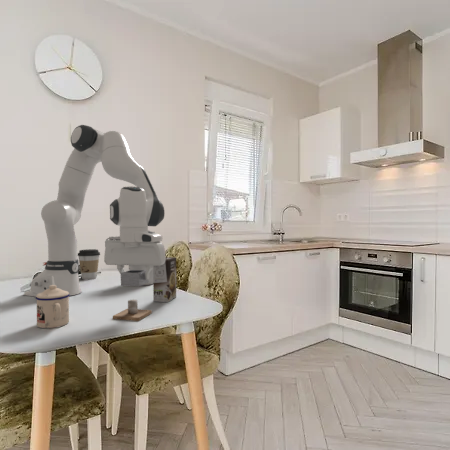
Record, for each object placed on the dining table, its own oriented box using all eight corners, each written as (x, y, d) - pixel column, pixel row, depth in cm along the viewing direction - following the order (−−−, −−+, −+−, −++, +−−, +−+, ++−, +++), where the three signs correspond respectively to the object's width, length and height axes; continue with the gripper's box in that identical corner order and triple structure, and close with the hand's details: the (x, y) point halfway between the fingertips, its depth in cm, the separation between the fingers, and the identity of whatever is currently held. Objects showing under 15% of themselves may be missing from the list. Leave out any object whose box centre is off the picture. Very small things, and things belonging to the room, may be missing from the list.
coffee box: (168, 302, 130) (168, 259, 129) (152, 301, 131) (152, 259, 131) (177, 297, 139) (176, 257, 138) (161, 296, 140) (161, 256, 140)
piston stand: (112, 319, 108) (112, 303, 108) (127, 311, 117) (127, 296, 117) (139, 320, 106) (138, 304, 106) (151, 313, 115) (151, 298, 115)
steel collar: (120, 285, 109) (120, 272, 109) (130, 281, 116) (130, 269, 116) (139, 286, 108) (139, 273, 108) (148, 282, 114) (148, 270, 114)
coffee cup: (73, 280, 178) (72, 251, 177) (85, 276, 189) (85, 249, 188) (93, 280, 176) (93, 251, 175) (104, 276, 187) (104, 249, 187)
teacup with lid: (33, 323, 104) (33, 284, 104) (65, 318, 110) (65, 281, 109) (40, 333, 95) (40, 291, 94) (75, 327, 100) (75, 287, 100)
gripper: (99, 237, 111) (100, 280, 111) (159, 236, 106) (160, 281, 107) (110, 236, 117) (111, 276, 117) (167, 235, 112) (167, 277, 113)
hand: (135, 279), depth 112 cm, fingers closed on steel collar, 6 cm apart
